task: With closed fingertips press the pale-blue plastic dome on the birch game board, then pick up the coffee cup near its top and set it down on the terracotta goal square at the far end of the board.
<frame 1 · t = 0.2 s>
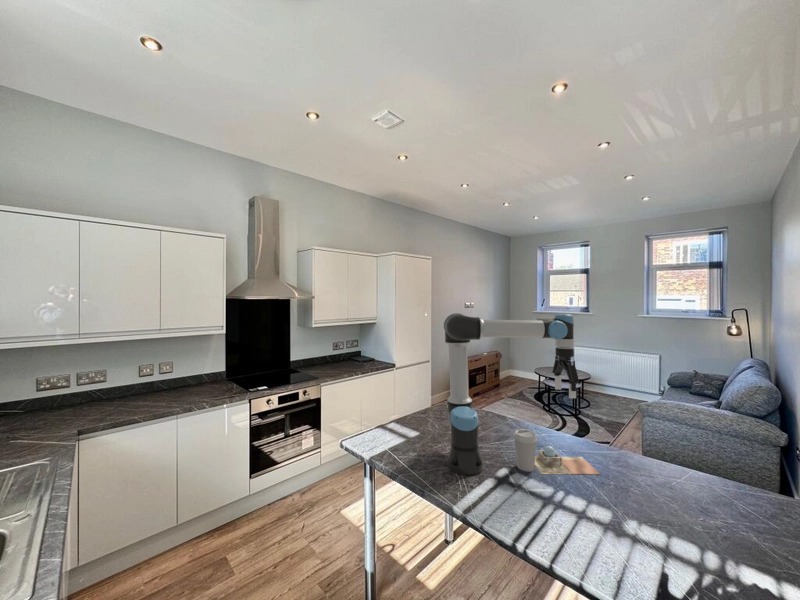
hand: (565, 393, 145), 27 cm above the countertop, fingers open, 13 cm apart
board: (562, 466, 132), on the countertop
coffee cup: (525, 469, 131), on the countertop
dome: (549, 451, 135), point 5 cm above the countertop, slide at -0.1 cm
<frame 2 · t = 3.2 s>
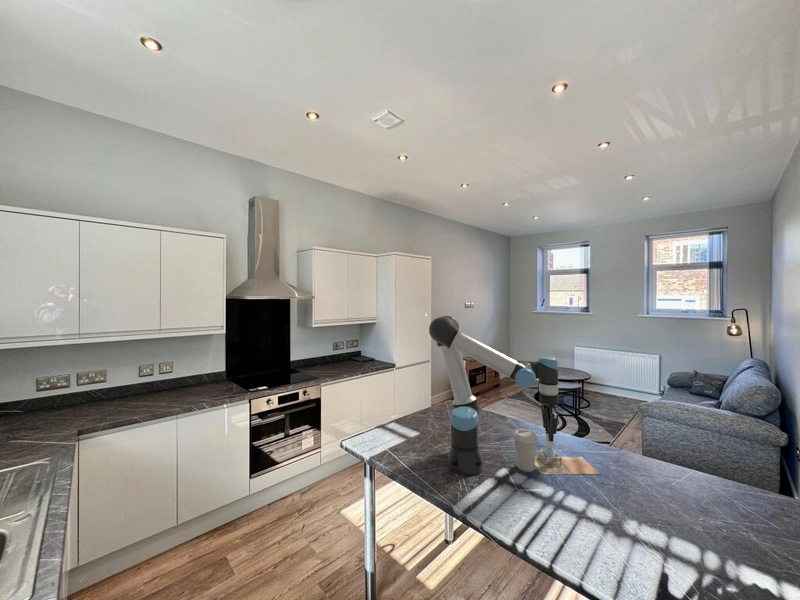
hand: (550, 447, 135), 7 cm above the countertop, fingers closed
dome: (549, 453, 135), point 4 cm above the countertop, slide at -0.9 cm, touching gripper
everything else where it was.
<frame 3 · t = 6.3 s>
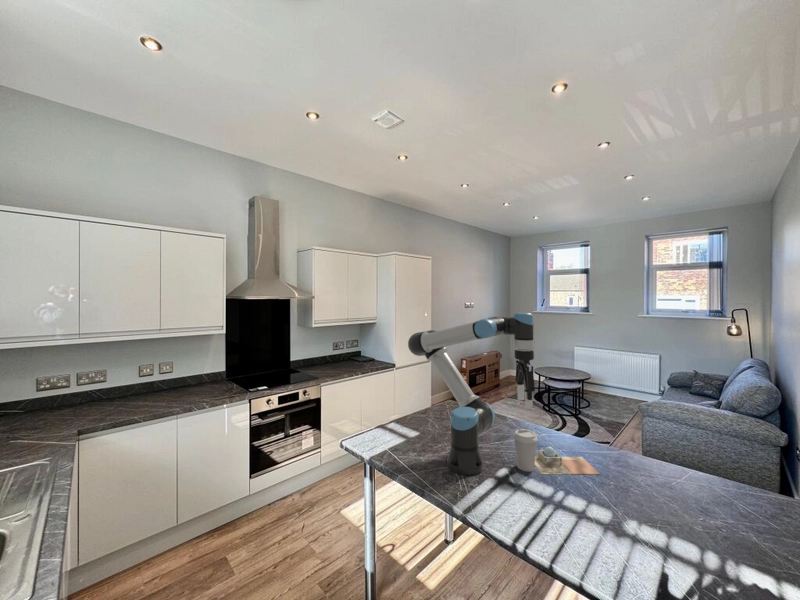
hand: (524, 403, 131), 27 cm above the countertop, fingers open, 9 cm apart
dome: (549, 452, 135), point 5 cm above the countertop, slide at -0.4 cm
everything else where it was.
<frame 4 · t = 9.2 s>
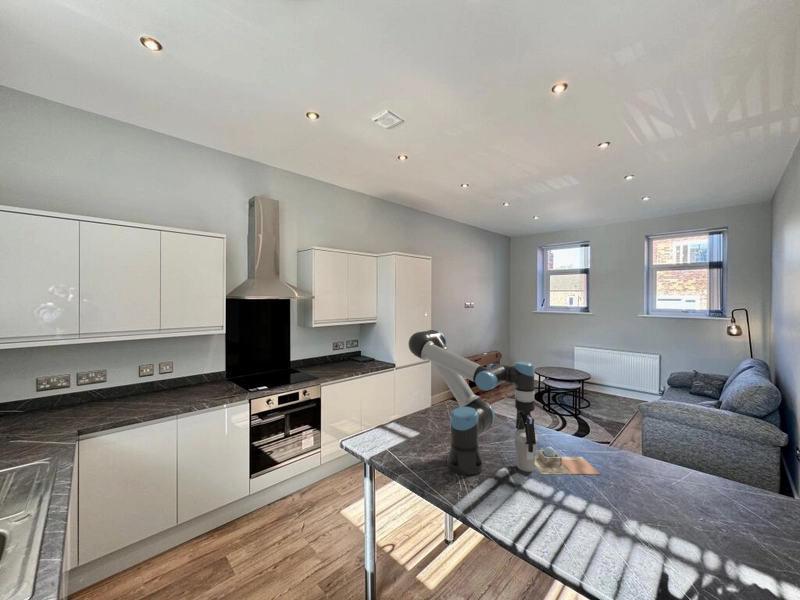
hand: (525, 453, 131), 7 cm above the countertop, fingers closed on coffee cup, 9 cm apart
coffee cup: (525, 469, 131), on the countertop, touching gripper
everything else where it was.
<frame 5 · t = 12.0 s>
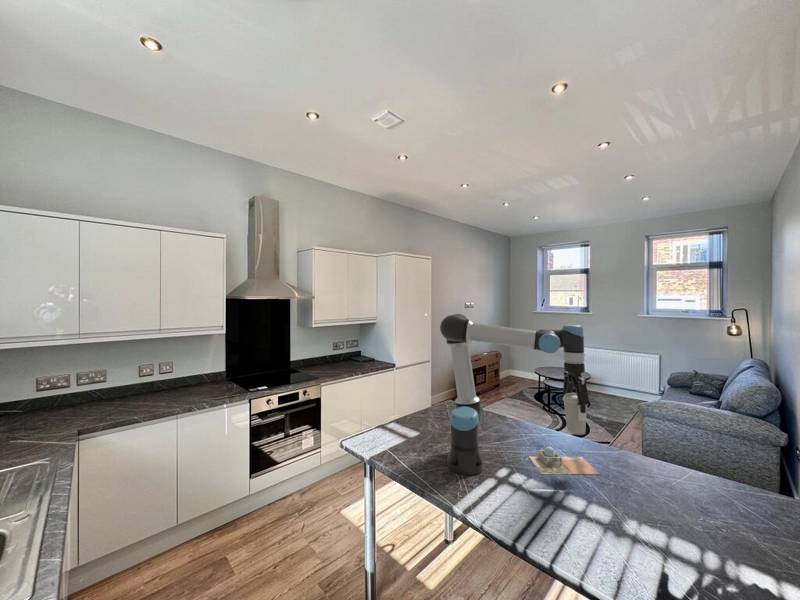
hand: (575, 415, 130), 22 cm above the countertop, fingers closed on coffee cup, 9 cm apart
coffee cup: (576, 431, 130), point 16 cm above the countertop, touching gripper
everything else where it was.
when the fingers open (8 cm above the countertop, at t = 15.2 s): coffee cup stays where it is, resting on board.
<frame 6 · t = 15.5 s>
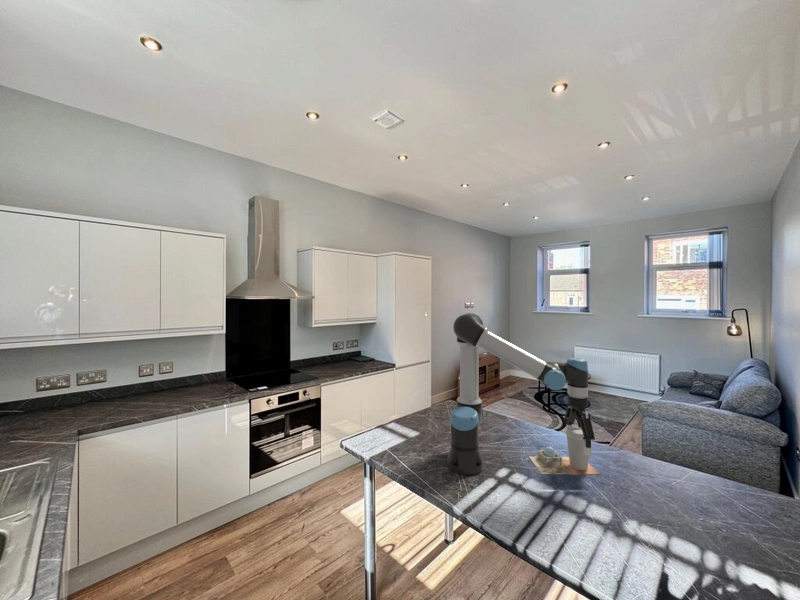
hand: (578, 447, 130), 9 cm above the countertop, fingers open, 12 cm apart
coffee cup: (578, 466, 130), point 1 cm above the countertop, touching board
everything else where it was.
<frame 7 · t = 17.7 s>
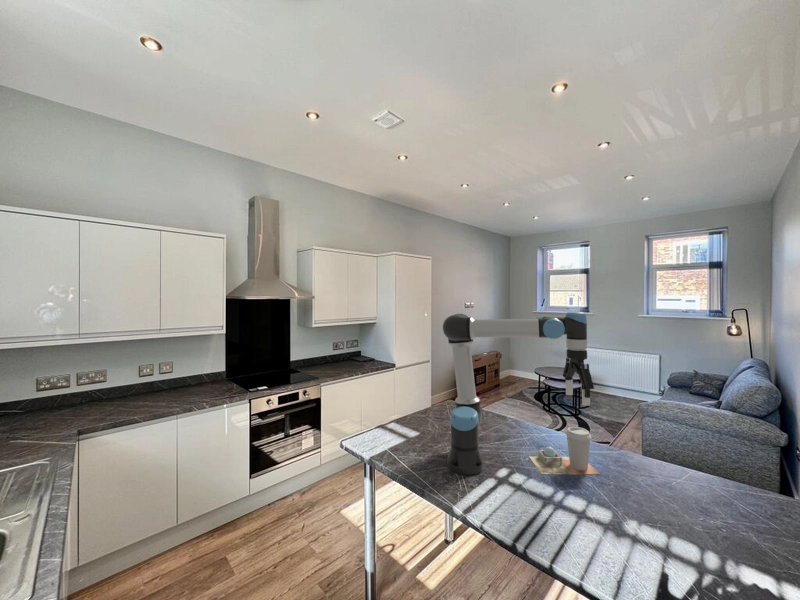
hand: (577, 399, 131), 29 cm above the countertop, fingers open, 13 cm apart
nothing on the countertop moved.
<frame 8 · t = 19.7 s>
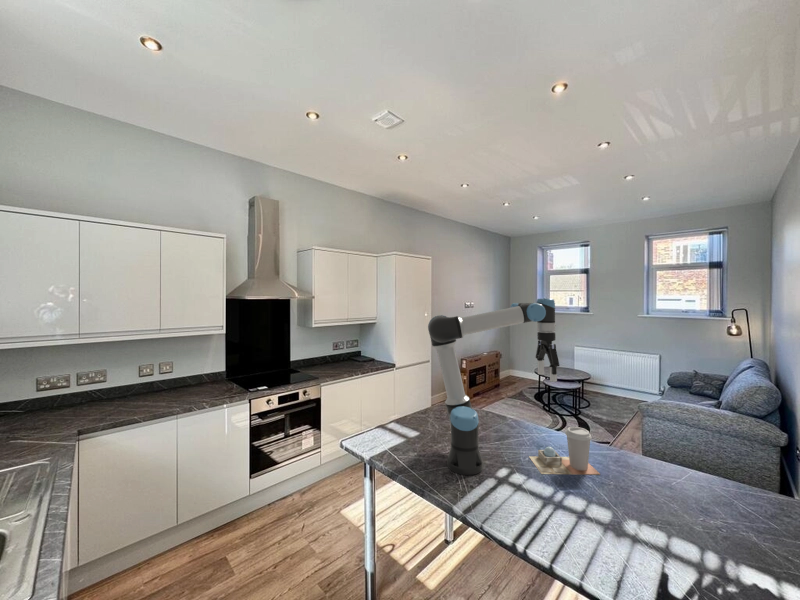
hand: (546, 377, 144), 35 cm above the countertop, fingers open, 13 cm apart
nothing on the countertop moved.
at the end: coffee cup inside the target area (0.1 cm from its centre), point 0.8 cm above the countertop; coffee cup tilted 0°; the gripper is holding nothing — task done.
